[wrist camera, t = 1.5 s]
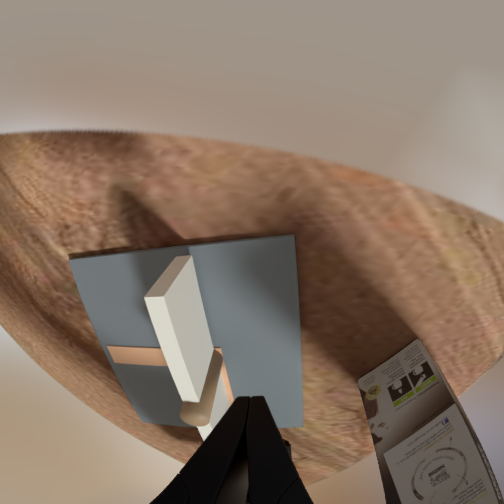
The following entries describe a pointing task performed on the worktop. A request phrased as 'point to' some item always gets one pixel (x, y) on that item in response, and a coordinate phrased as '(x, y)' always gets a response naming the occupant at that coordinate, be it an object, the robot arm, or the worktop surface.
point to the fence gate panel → (181, 326)
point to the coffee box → (424, 435)
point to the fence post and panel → (208, 400)
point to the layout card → (218, 319)
